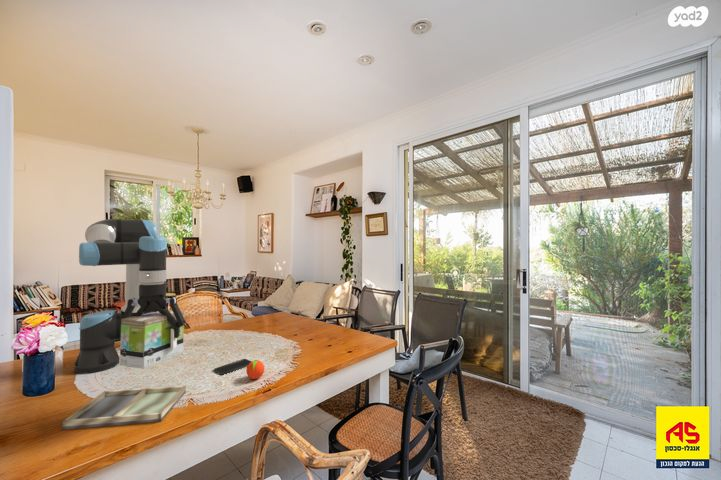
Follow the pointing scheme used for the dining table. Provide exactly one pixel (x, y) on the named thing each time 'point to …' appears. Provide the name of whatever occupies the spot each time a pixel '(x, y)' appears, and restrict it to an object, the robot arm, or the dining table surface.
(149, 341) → the tea box
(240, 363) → the phone
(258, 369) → the clementine
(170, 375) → the dining table surface
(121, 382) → the dining table surface
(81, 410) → the organiser
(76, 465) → the dining table surface
